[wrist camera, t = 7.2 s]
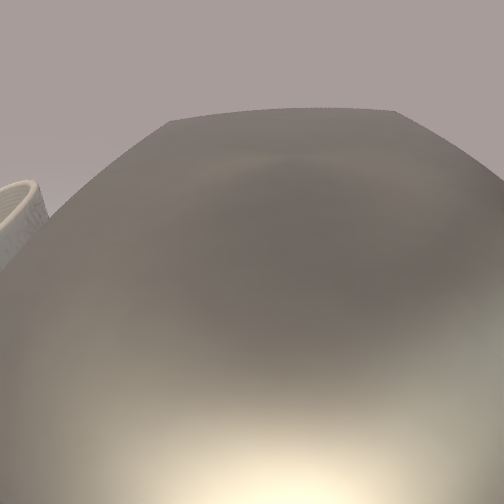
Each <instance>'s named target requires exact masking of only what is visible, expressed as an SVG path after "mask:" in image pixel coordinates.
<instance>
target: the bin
mask: <svg viewBox="0 0 504 504" xmlns="http://www.w3.org/2000/svg"><path fill="white" fill-rule="evenodd" d="M0 504H504V181H503V180H502V179H500V178H499V177H498V176H496V175H495V174H494V173H493V172H491V171H490V170H489V169H487V168H486V167H485V166H483V165H482V164H481V163H479V162H478V161H477V160H475V159H474V158H472V157H471V156H469V155H468V154H466V153H465V152H464V151H462V150H461V149H459V148H458V147H456V146H455V145H453V144H451V143H450V142H448V141H447V140H445V139H444V138H442V137H440V136H439V135H437V134H435V133H434V132H432V131H430V130H429V129H427V128H425V127H423V126H421V125H420V124H418V123H416V122H414V121H413V120H411V119H409V118H407V117H405V116H403V115H401V114H399V113H397V112H395V111H386V110H372V109H353V108H290V109H289V108H287V109H267V110H253V111H242V112H233V113H223V114H214V115H206V116H199V117H193V118H186V119H180V120H174V121H169V122H168V123H166V124H165V125H163V126H162V127H160V128H159V129H157V130H156V131H154V132H153V133H151V134H150V135H149V136H147V137H146V138H144V139H143V140H142V141H140V142H139V143H138V144H136V145H135V146H133V147H132V148H131V149H129V150H128V151H127V152H125V153H124V154H123V155H121V156H120V157H119V158H117V159H116V160H115V161H114V162H112V163H111V164H110V165H109V166H108V167H106V168H105V169H104V170H102V171H101V172H100V173H99V174H98V175H97V176H95V177H94V178H93V179H92V180H90V181H89V182H88V183H87V184H86V185H85V186H84V187H83V188H81V189H80V190H79V191H78V192H77V193H76V194H75V195H73V197H71V198H70V199H69V200H68V201H67V202H66V203H65V204H64V205H63V206H62V207H61V208H60V209H58V210H57V212H55V213H54V214H53V215H52V217H50V218H49V219H48V220H47V221H46V222H45V223H44V224H43V225H42V226H41V227H40V228H39V230H38V231H37V232H36V233H35V234H34V235H33V236H32V237H31V238H30V239H29V240H28V241H27V242H26V243H25V245H24V246H23V247H22V248H21V249H20V250H19V251H18V252H17V254H16V255H15V256H14V257H13V258H12V259H11V261H10V262H9V263H8V264H7V265H6V267H5V268H4V269H3V270H2V272H1V273H0Z"/></svg>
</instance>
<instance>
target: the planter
mask: <svg viewBox="0 0 504 504" xmlns="http://www.w3.org/2000/svg"><path fill="white" fill-rule="evenodd" d="M48 219H49V216H48V213H47V210H46V208H45V204H44V201H43V198H42V195H41V191H40V188H39V185H38V183H37V181H35V180H30V179H29V180H22V181H18V182H15V183H12V184H10V185H7V186H5V187H3V188H1V189H0V273H1V272H2V270H3V269H4V268H5V267H6V265H7V264H8V263H9V262H10V261H11V259H12V258H13V257H14V256H15V255H16V254H17V252H18V251H19V250H20V249H21V248H22V247H23V246H24V245H25V243H26V242H27V241H28V240H29V239H30V238H31V237H32V236H33V235H34V234H35V233H36V232H37V231H38V230H39V228H40V227H41V226H42V225H43V224H44V223H45V222H46V221H47V220H48Z"/></svg>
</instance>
